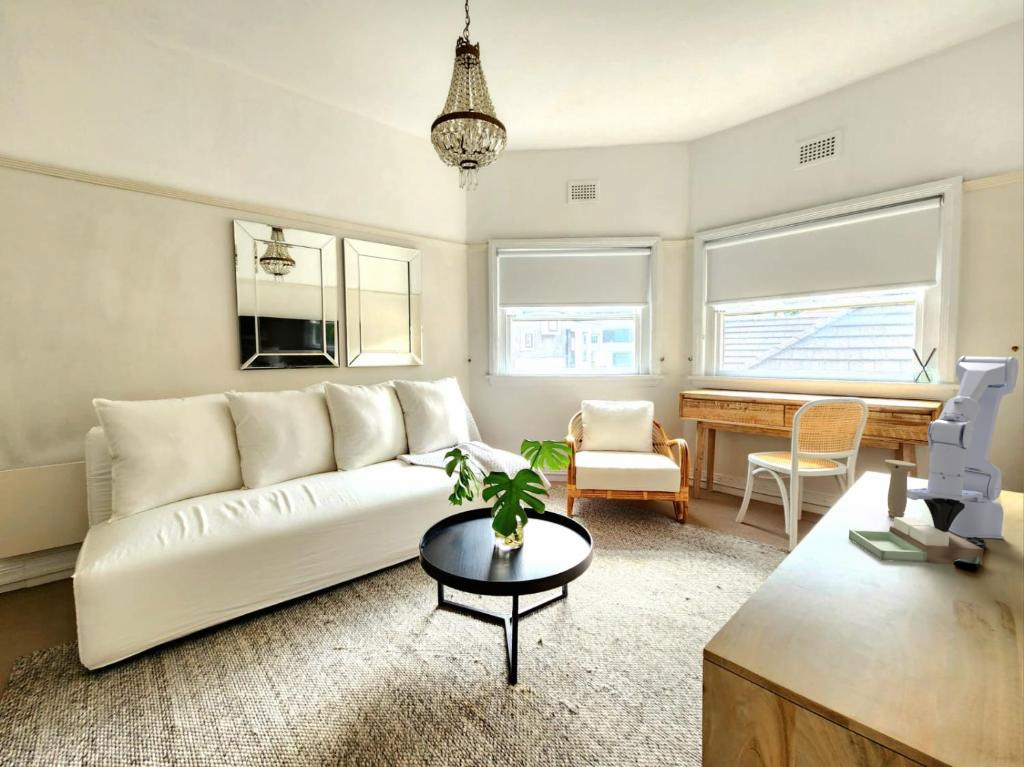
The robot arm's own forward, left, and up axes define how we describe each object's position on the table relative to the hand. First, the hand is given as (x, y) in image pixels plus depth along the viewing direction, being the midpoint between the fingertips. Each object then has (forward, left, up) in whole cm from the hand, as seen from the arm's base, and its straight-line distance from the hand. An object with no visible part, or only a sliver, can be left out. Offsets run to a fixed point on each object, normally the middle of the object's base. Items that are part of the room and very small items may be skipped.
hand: (941, 530), depth 104 cm
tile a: (+6, 0, -1) cm, 6 cm away
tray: (+13, +2, -4) cm, 14 cm away
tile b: (+6, +5, -1) cm, 8 cm away
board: (+3, +2, -4) cm, 6 cm away
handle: (-4, -19, -4) cm, 20 cm away
